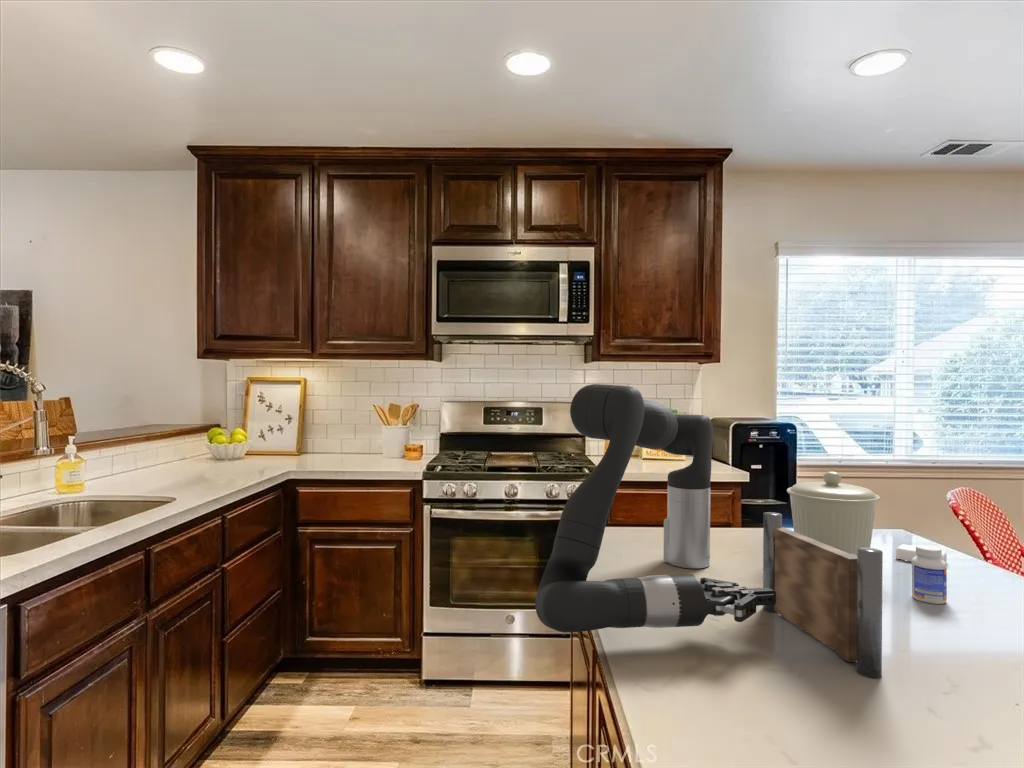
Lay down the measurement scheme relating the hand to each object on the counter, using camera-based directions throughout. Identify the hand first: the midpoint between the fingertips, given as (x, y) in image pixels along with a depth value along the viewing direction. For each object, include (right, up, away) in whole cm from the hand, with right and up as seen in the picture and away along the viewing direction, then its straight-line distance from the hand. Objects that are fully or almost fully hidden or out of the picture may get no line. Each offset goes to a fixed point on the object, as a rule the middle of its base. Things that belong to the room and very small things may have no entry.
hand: (773, 595), depth 93 cm
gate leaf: (+7, -6, +1) cm, 10 cm away
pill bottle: (+37, -7, +19) cm, 42 cm away
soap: (+53, -8, +44) cm, 69 cm away
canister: (+30, -7, +38) cm, 49 cm away
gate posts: (+7, -7, +1) cm, 10 cm away
